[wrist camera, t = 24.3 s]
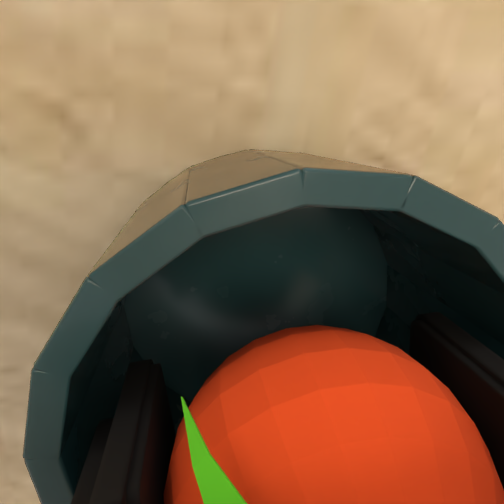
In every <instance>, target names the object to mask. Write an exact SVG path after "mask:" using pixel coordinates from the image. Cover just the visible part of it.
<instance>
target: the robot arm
mask: <svg viewBox="0 0 504 504" xmlns="http://www.w3.org/2000/svg"><path fill="white" fill-rule="evenodd" d="M409 356H410V357H412V358H413V359H414V360H416V361H417V362H418V363H420V364H421V365H422V366H424V367H425V368H426V369H427V370H428V371H430V372H431V373H432V374H433V375H434V376H435V377H436V378H438V379H439V380H440V381H441V382H442V383H443V384H444V385H445V386H447V387H448V388H449V389H450V391H451V392H452V393H453V395H454V396H455V397H456V399H457V400H458V402H459V403H460V404H461V406H462V407H463V408H464V410H465V411H466V412H467V414H468V415H469V416H470V418H471V419H472V421H473V422H474V423H475V425H476V427H477V429H478V431H479V433H480V435H481V437H482V438H483V440H484V442H485V444H486V446H487V448H488V450H489V452H490V455H491V458H492V460H493V463H494V465H495V468H496V471H497V473H498V476H499V479H500V481H501V484H502V486H503V489H504V359H502V358H501V357H499V356H498V355H497V354H495V353H494V352H493V351H491V350H490V349H489V348H487V347H486V346H485V345H483V344H482V343H481V342H479V341H478V340H477V339H475V338H474V337H472V336H471V335H470V334H468V333H467V332H466V331H464V330H463V329H462V328H460V327H459V326H458V325H456V324H455V323H454V322H452V321H451V320H450V319H448V318H447V317H445V316H444V315H443V314H441V313H440V312H432V313H426V314H420V315H417V316H416V318H415V321H412V322H411V326H410V346H409ZM175 437H176V434H175V429H174V424H173V419H172V414H171V410H170V405H169V400H168V395H167V391H166V386H165V381H164V376H163V372H162V367H161V364H160V363H157V364H154V363H153V360H152V359H148V360H142V361H136V362H131V363H130V364H129V367H128V370H127V374H126V377H125V380H124V384H123V387H122V391H121V394H120V398H119V401H118V405H117V408H116V412H115V415H114V418H109V419H103V420H101V421H100V422H99V423H98V426H97V428H96V431H95V434H94V437H93V440H92V443H91V446H90V449H89V452H88V454H87V457H86V460H85V463H84V466H83V469H82V472H81V475H80V478H79V481H78V484H77V487H76V490H75V493H74V496H73V499H72V502H71V504H164V497H163V494H164V489H165V484H166V479H167V474H168V469H169V464H170V459H171V455H172V450H173V446H174V442H175Z"/></svg>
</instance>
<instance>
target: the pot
mask: <svg viewBox="0 0 504 504" xmlns="http://www.w3.org/2000/svg"><path fill="white" fill-rule="evenodd" d="M432 312H440V313H441V314H443V315H444V316H445V317H447V318H448V319H450V320H451V321H452V322H454V323H455V324H456V325H458V326H459V327H460V328H462V329H463V330H464V331H466V332H467V333H468V334H470V335H471V336H472V337H474V338H475V339H477V340H478V341H479V342H481V343H482V344H483V345H485V346H486V347H487V348H489V349H490V350H491V351H493V352H494V353H495V354H497V355H498V356H499V357H501V358H502V359H504V225H503V223H502V222H501V221H500V220H499V219H498V218H497V217H496V216H494V215H492V214H490V213H488V212H486V211H484V210H482V209H480V208H478V207H476V206H474V205H472V204H470V203H468V202H467V201H465V200H463V199H461V198H459V197H457V196H455V195H453V194H451V193H449V192H447V191H445V190H443V189H441V188H439V187H437V186H435V185H433V184H432V183H430V182H428V181H426V180H424V179H422V178H420V177H418V176H415V175H410V174H406V173H401V172H396V171H391V170H386V169H381V168H376V167H371V166H366V165H360V164H355V163H350V162H345V161H340V160H335V159H330V158H325V157H320V156H315V155H310V154H305V153H292V152H280V151H269V150H252V149H250V150H244V151H240V152H237V153H234V154H228V155H224V156H220V157H217V158H214V159H211V160H208V161H205V162H203V163H200V164H197V165H194V166H191V168H190V167H189V168H187V169H186V170H185V171H183V172H182V173H181V174H179V175H178V176H177V177H175V178H174V179H172V180H171V181H169V182H168V183H166V184H165V185H164V186H163V187H162V188H161V189H159V190H158V191H157V192H156V193H154V194H153V195H152V196H151V197H149V198H148V199H147V200H145V201H144V202H143V203H142V204H141V205H140V207H139V208H138V209H137V211H136V212H135V213H134V215H133V216H132V217H131V219H130V220H129V221H128V222H127V224H126V225H125V226H124V228H123V229H122V230H121V232H120V233H119V234H118V236H117V237H116V238H115V240H114V241H113V242H112V244H111V245H110V246H109V248H108V249H107V250H106V252H105V253H104V254H103V256H102V257H101V258H100V260H99V261H98V262H97V264H96V265H95V266H94V268H93V269H92V270H91V272H90V273H89V274H88V275H87V277H86V278H85V280H84V281H83V283H82V285H81V286H80V288H79V290H78V291H77V293H76V295H75V296H74V298H73V300H72V301H71V303H70V305H69V306H68V308H67V310H66V311H65V313H64V315H63V316H62V318H61V320H60V321H59V323H58V325H57V326H56V328H55V330H54V331H53V333H52V335H51V336H50V338H49V340H48V341H47V343H46V345H45V346H44V348H43V350H42V351H41V353H40V355H39V356H38V358H37V360H36V361H35V363H34V367H33V369H32V370H31V380H30V390H29V400H28V410H27V420H26V430H25V440H24V450H23V458H24V459H25V464H26V466H27V469H28V471H29V474H30V477H31V479H32V482H33V484H34V487H35V489H36V492H37V494H38V497H39V499H40V502H41V504H71V502H72V499H73V496H74V493H75V490H76V487H77V484H78V481H79V478H80V475H81V472H82V469H83V466H84V463H85V460H86V457H87V454H88V452H89V449H90V446H91V443H92V440H93V437H94V434H95V431H96V428H97V426H98V423H99V422H100V421H101V420H103V419H109V418H114V415H115V412H116V408H117V405H118V401H119V398H120V394H121V391H122V387H123V384H124V380H125V377H126V374H127V370H128V367H129V364H130V363H131V362H136V361H142V360H148V359H152V360H153V363H154V364H157V363H160V364H161V367H162V372H163V376H164V381H165V386H166V391H167V395H168V400H169V405H170V410H171V414H172V419H173V424H174V429H175V434H176V433H177V429H178V426H179V424H180V423H181V421H182V419H183V417H184V413H183V407H182V401H181V396H182V397H183V398H184V400H185V402H186V405H187V407H188V408H189V406H190V404H191V402H192V401H193V399H194V397H195V395H196V394H197V393H198V391H199V390H200V388H201V387H202V385H203V384H204V382H205V381H206V379H207V378H208V377H209V376H210V375H211V374H212V373H213V372H214V371H215V370H216V369H217V368H218V367H219V366H220V365H221V364H222V363H223V361H224V360H225V359H226V358H227V357H228V356H230V355H232V354H233V353H235V352H236V351H238V350H239V349H241V348H243V347H244V346H246V345H247V344H249V343H250V342H252V341H253V340H255V339H258V338H260V337H263V336H266V335H269V334H272V333H274V332H277V331H280V330H283V329H286V328H293V327H302V326H311V325H323V326H331V327H339V328H347V329H350V330H354V331H358V332H361V333H365V334H368V335H371V336H373V337H375V338H378V339H380V340H382V341H385V342H387V343H389V344H392V345H394V346H396V347H398V348H400V349H401V350H402V351H404V352H405V353H406V354H408V355H409V346H410V326H411V322H412V321H415V318H416V316H417V315H420V314H426V313H432Z"/></svg>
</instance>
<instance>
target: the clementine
mask: <svg viewBox="0 0 504 504" xmlns="http://www.w3.org/2000/svg"><path fill="white" fill-rule="evenodd" d="M181 401H182V407H183V413H184V417H183V419H182V421H181V423H180V424H179V426H178V429H177V433H176V437H175V442H174V446H173V450H172V455H171V459H170V464H169V469H168V474H167V479H166V484H165V489H164V494H163V497H164V504H504V489H503V486H502V484H501V481H500V479H499V476H498V473H497V471H496V468H495V465H494V463H493V460H492V458H491V455H490V452H489V450H488V448H487V446H486V444H485V442H484V440H483V438H482V437H481V435H480V433H479V431H478V429H477V427H476V425H475V423H474V422H473V421H472V419H471V418H470V416H469V415H468V414H467V412H466V411H465V410H464V408H463V407H462V406H461V404H460V403H459V402H458V400H457V399H456V397H455V396H454V395H453V393H452V392H451V391H450V389H449V388H448V387H447V386H445V385H444V384H443V383H442V382H441V381H440V380H439V379H438V378H436V377H435V376H434V375H433V374H432V373H431V372H430V371H428V370H427V369H426V368H425V367H424V366H422V365H421V364H420V363H418V362H417V361H416V360H414V359H413V358H412V357H410V356H409V355H408V354H406V353H405V352H404V351H402V350H401V349H400V348H398V347H396V346H394V345H392V344H389V343H387V342H385V341H382V340H380V339H378V338H375V337H373V336H371V335H368V334H365V333H361V332H358V331H354V330H350V329H347V328H339V327H331V326H323V325H311V326H302V327H293V328H286V329H283V330H280V331H277V332H274V333H272V334H269V335H266V336H263V337H260V338H258V339H255V340H253V341H252V342H250V343H249V344H247V345H246V346H244V347H243V348H241V349H239V350H238V351H236V352H235V353H233V354H232V355H230V356H228V357H227V358H226V359H225V360H224V361H223V363H222V364H221V365H220V366H219V367H218V368H217V369H216V370H215V371H214V372H213V373H212V374H211V375H210V376H209V377H208V378H207V379H206V381H205V382H204V384H203V385H202V387H201V388H200V390H199V391H198V393H197V394H196V395H195V397H194V399H193V401H192V402H191V404H190V406H189V408H188V407H187V405H186V402H185V400H184V398H183V397H182V396H181Z"/></svg>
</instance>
